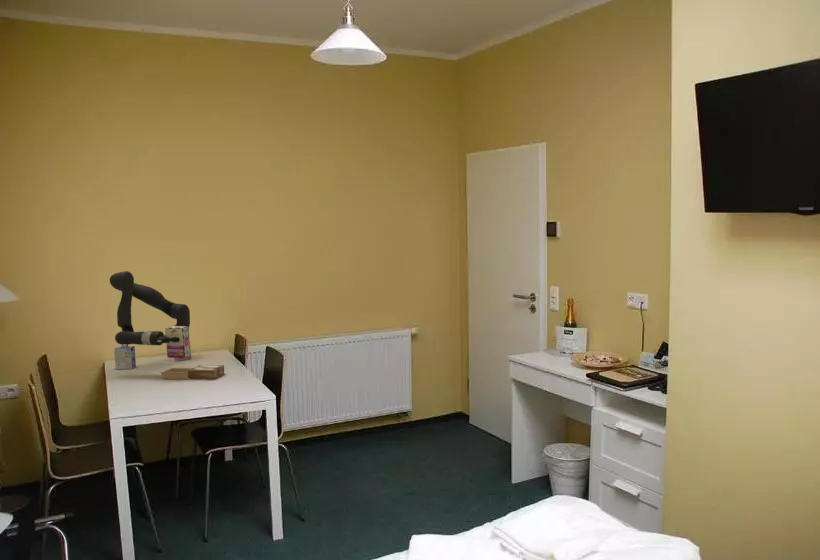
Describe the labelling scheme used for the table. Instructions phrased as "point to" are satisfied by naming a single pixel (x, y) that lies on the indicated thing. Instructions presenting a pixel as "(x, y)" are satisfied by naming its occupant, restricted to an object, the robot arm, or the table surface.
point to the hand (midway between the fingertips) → (181, 338)
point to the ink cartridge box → (125, 357)
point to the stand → (206, 372)
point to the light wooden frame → (177, 372)
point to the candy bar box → (181, 347)
